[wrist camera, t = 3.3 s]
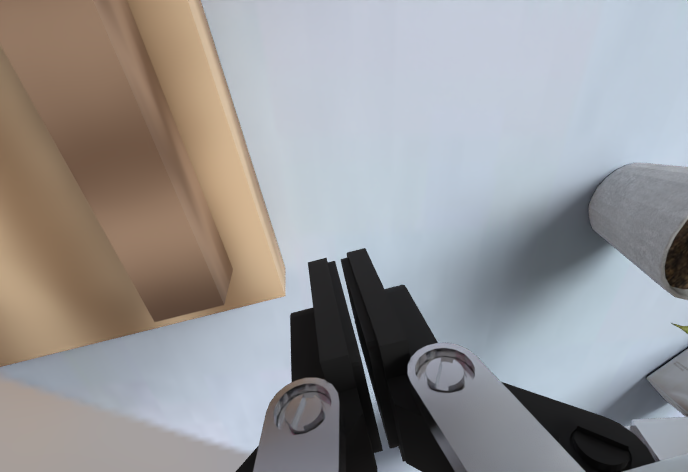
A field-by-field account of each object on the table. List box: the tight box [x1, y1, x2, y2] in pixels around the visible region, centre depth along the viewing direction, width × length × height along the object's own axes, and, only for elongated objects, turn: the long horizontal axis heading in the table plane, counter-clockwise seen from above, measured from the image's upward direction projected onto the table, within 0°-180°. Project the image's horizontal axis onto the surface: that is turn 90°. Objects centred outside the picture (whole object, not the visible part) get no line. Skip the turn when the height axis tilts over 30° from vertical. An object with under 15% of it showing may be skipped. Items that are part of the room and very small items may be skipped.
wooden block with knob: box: [0, 0, 285, 367], centre depth 15 cm, size 18×20×6 cm
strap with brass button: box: [0, 0, 233, 322], centre depth 13 cm, size 14×3×4 cm, turn 11°
